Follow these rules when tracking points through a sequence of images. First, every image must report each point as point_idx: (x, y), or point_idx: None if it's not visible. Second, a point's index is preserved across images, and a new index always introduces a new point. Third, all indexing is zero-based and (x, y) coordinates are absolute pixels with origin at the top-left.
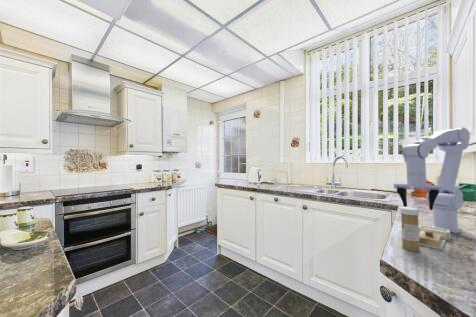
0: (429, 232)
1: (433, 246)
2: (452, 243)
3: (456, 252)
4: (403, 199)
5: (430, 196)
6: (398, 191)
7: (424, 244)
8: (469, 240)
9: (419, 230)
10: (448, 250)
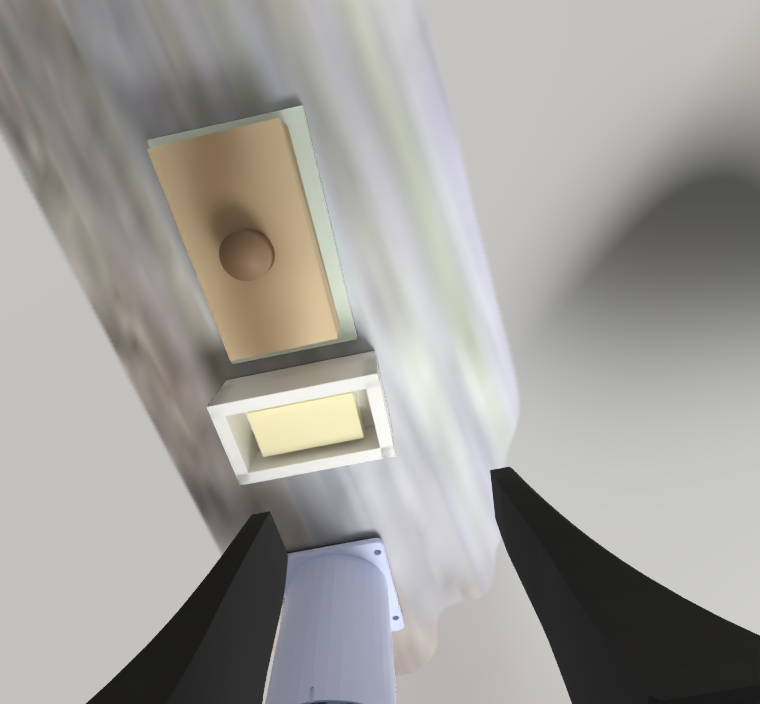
0: (238, 251)
1: (191, 136)
2: (198, 353)
3: (93, 176)
4: (553, 533)
5: (153, 694)
6: (752, 654)
7: (239, 125)
8: (192, 484)
9: (362, 366)
10: (131, 173)
